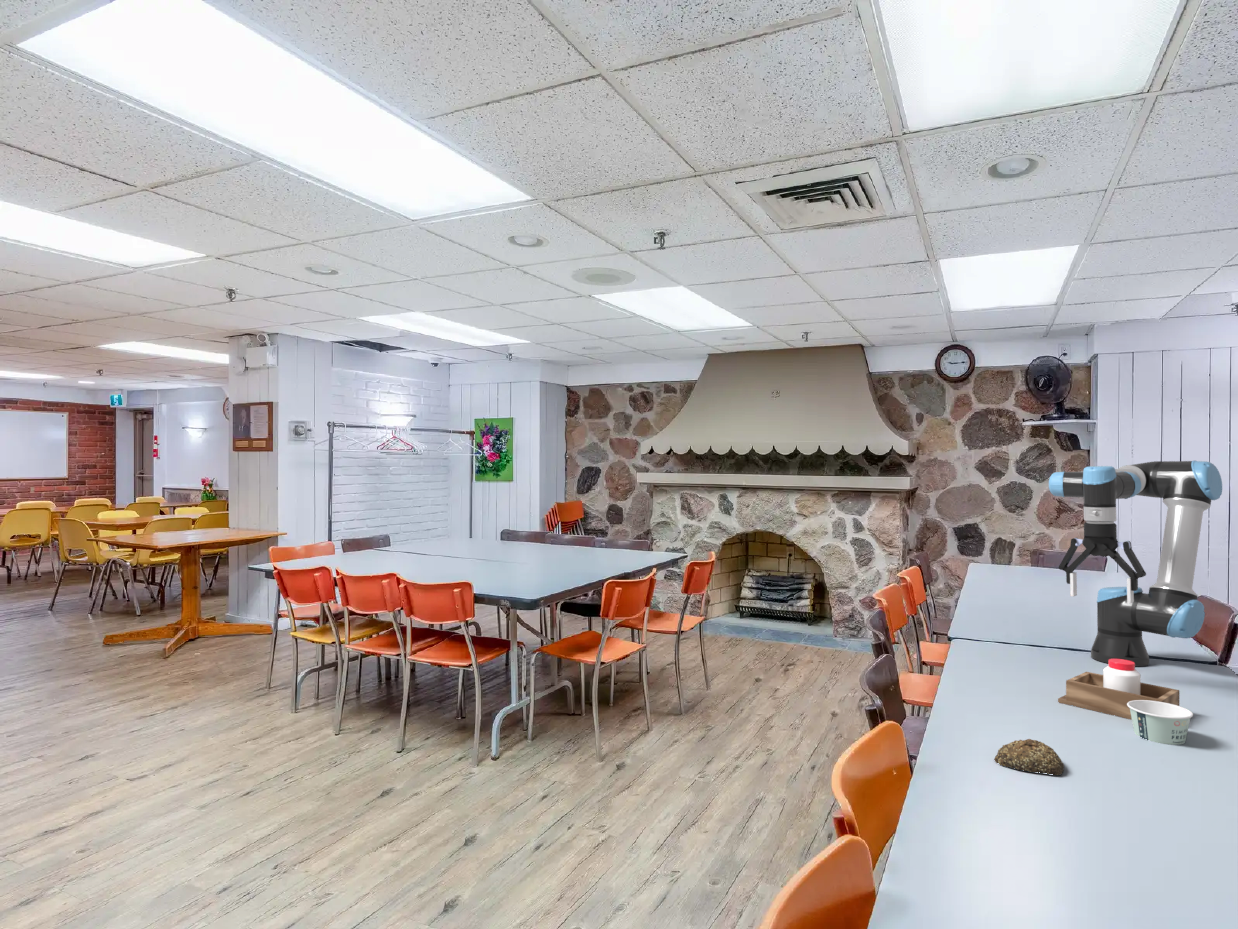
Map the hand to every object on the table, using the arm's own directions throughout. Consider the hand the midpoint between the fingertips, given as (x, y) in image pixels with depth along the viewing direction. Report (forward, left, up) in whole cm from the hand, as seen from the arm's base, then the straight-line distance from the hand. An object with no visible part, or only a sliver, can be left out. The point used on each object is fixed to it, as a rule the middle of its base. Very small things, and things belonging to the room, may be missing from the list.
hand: (1101, 599), depth 199 cm
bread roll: (+69, +10, -25) cm, 74 cm away
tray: (+15, +10, -25) cm, 31 cm away
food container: (+30, +22, -25) cm, 45 cm away
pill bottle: (+15, +10, -24) cm, 30 cm away
